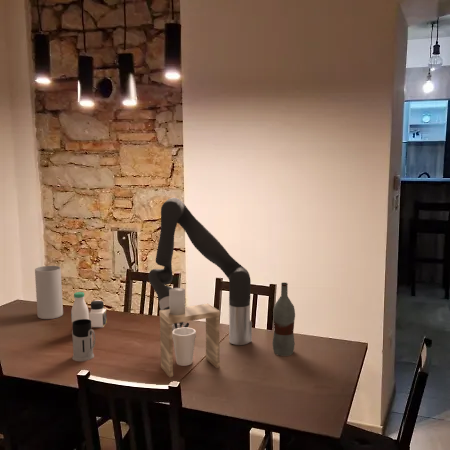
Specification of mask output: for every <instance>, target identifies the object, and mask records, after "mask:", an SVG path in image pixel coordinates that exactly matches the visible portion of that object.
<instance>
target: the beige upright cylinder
mask: <svg viewBox="0 0 450 450" xmlns="http://www.w3.org/2000/svg"><path fill="white" fill-rule="evenodd" d="M171 288H172V289H170V290H169V309H170V314H171V315H183V314H185V307H186V289H185V288H183V287H174V288H173V287H171Z"/></svg>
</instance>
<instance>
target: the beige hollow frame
mask: <svg viewBox="0 0 450 450" xmlns="http://www.w3.org/2000/svg"><path fill="white" fill-rule="evenodd" d="M158 311H159V313H158V314H159V337H160V338H159V339H160V340H159V341H160V368H161V369H162V371H164V373H165V374H166V376H167V377H169V378H173V377H174V354H173V353H174V352H173V351H174V350H173V348H174V343H173V339H172V324H174V323H180V322H185V323H188V322H191V321H197V320H198V321H199V320H205V359H206V360H207V361H208V362H209V363H211V364H212V365H213V366H214V367H215V368H220V359H221V358H220V316H221V311H220V310H219V309H218V308H216V307H214V306H213V305H211V304H210V303H204V304H203V303H202V304H196V305H189V306H185V314H183V315H171V314H170V309H168V310H158Z"/></svg>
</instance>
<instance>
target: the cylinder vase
mask: <svg viewBox="0 0 450 450" xmlns="http://www.w3.org/2000/svg"><path fill="white" fill-rule="evenodd" d="M34 276H35V277H34V278H35V280H34V281H35V292H36V293H35V297H36V311H37V312H36V313H37V317H38V318H39V319H42V320H53V319H58V318H60V317H62V316H63V315H64V308H63V307H64V306H63V288H62V287H63V286H62V282H63V281H62V268H61V266H59V265H44V266H38V267H36V268H34Z"/></svg>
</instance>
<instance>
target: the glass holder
mask: <svg viewBox="0 0 450 450" xmlns="http://www.w3.org/2000/svg"><path fill="white" fill-rule="evenodd" d="M72 327H73V332H72V331H71V335H72V350H73V351H72V354H73V355H72V360H73V361H75V362H87V361H89V360H90V361H91V360H92V359H94V357H95V354H94V348H95V345H96V333H95V330H94V329H92V328H93V327H91V320H88V319H80V320H76V321H74V322H72V321H71V328H72Z"/></svg>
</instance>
